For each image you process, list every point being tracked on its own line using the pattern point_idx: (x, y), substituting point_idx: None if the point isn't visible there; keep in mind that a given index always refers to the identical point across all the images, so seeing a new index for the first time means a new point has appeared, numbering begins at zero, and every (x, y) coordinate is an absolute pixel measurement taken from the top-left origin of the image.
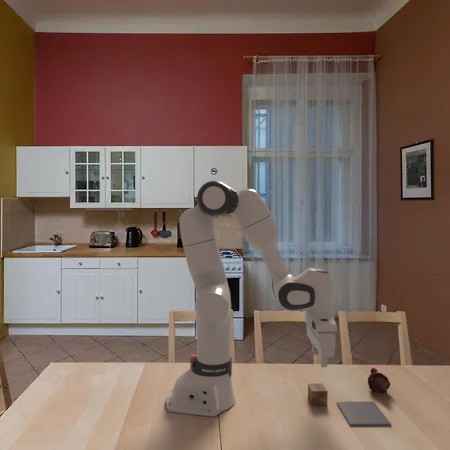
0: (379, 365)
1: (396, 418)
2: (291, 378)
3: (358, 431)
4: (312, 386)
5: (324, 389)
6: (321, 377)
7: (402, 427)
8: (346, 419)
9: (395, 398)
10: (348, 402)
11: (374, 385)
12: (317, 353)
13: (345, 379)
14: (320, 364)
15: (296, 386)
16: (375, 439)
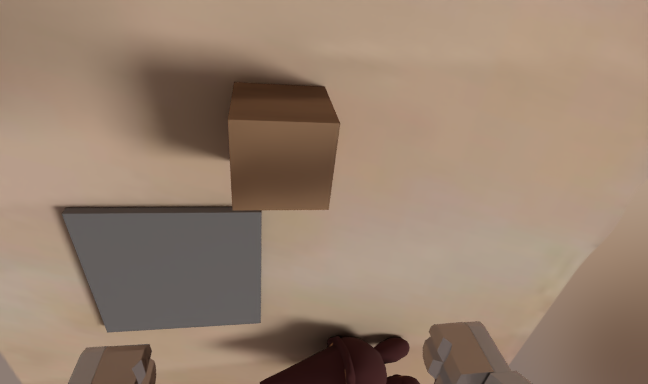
0: None
1: (164, 346)
2: (560, 54)
3: (27, 225)
4: (297, 141)
5: (253, 199)
6: (499, 207)
7: None
8: (117, 208)
9: None
10: (253, 252)
11: (323, 364)
12: (430, 359)
13: (448, 282)
14: (131, 351)
15: (464, 57)
16: None
